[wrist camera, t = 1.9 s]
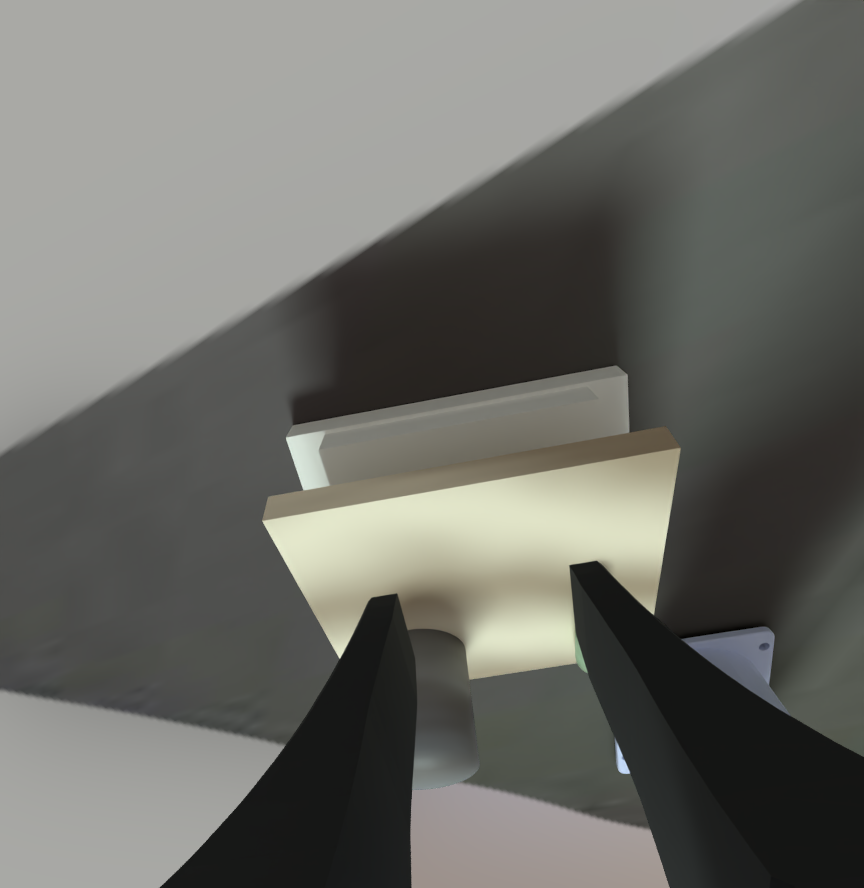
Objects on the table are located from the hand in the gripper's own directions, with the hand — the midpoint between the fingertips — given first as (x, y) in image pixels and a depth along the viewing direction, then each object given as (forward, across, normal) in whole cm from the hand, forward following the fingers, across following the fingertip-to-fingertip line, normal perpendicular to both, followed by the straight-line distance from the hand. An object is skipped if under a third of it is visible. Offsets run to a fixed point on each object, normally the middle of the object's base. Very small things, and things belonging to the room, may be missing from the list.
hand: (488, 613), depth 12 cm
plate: (+6, 0, +4) cm, 7 cm away
